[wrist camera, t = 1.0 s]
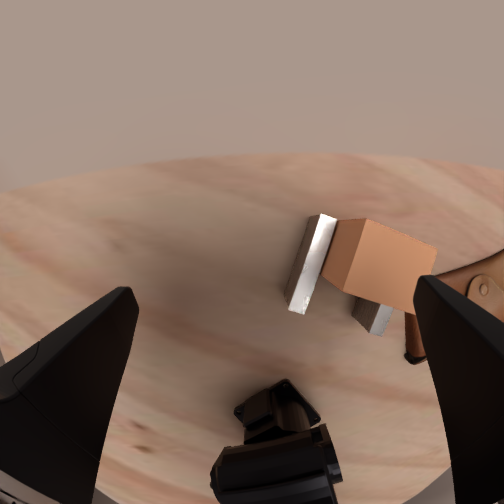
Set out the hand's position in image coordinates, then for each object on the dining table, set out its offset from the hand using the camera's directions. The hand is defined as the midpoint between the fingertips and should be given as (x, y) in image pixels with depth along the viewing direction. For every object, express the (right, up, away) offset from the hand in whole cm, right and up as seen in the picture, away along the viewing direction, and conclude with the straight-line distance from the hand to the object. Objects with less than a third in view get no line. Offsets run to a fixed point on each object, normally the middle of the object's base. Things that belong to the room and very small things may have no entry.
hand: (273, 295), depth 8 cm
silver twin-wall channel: (+7, 0, +16) cm, 18 cm away
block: (+7, +1, +16) cm, 18 cm away
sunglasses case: (+23, -4, +17) cm, 29 cm away
